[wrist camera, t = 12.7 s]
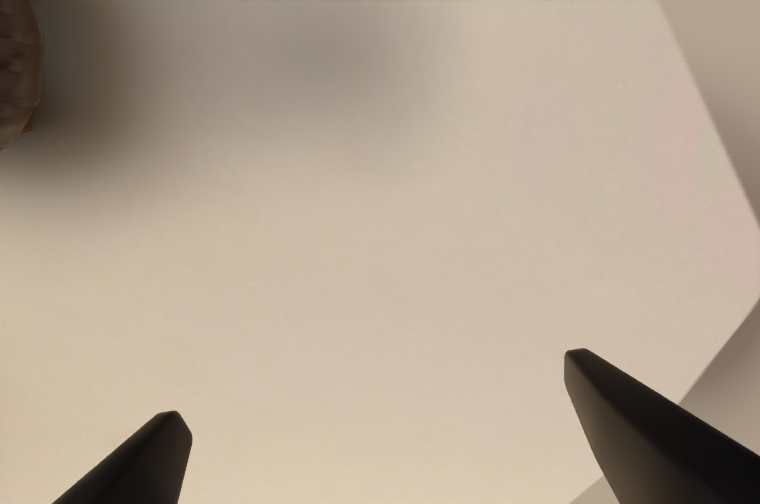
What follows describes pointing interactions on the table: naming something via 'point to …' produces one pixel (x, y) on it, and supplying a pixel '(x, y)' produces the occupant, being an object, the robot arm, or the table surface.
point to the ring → (18, 67)
